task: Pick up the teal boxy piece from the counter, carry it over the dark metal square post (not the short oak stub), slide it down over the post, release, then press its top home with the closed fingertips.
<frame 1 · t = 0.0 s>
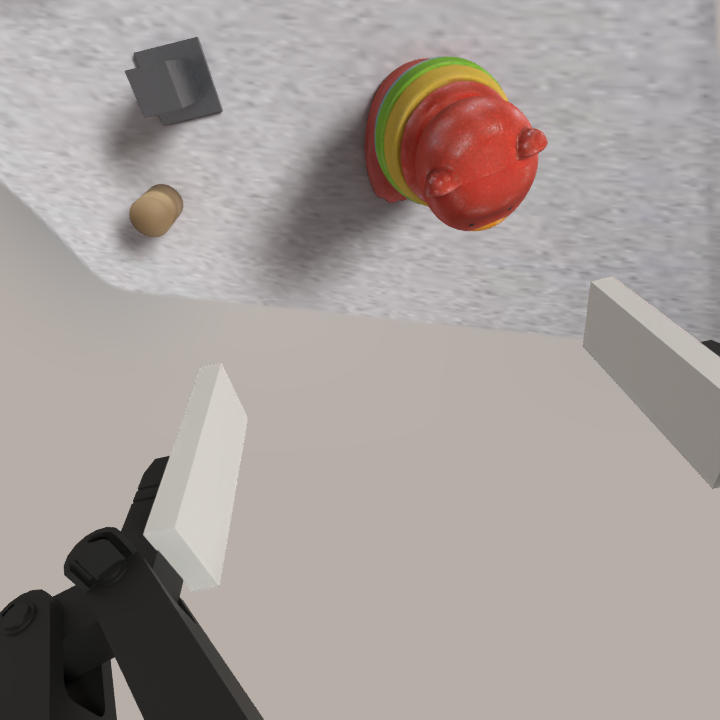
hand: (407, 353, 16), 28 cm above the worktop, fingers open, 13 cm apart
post: (180, 82, 34), on the worktop
oak stub: (165, 202, 39), on the worktop
stacking bear: (421, 127, 37), on the worktop
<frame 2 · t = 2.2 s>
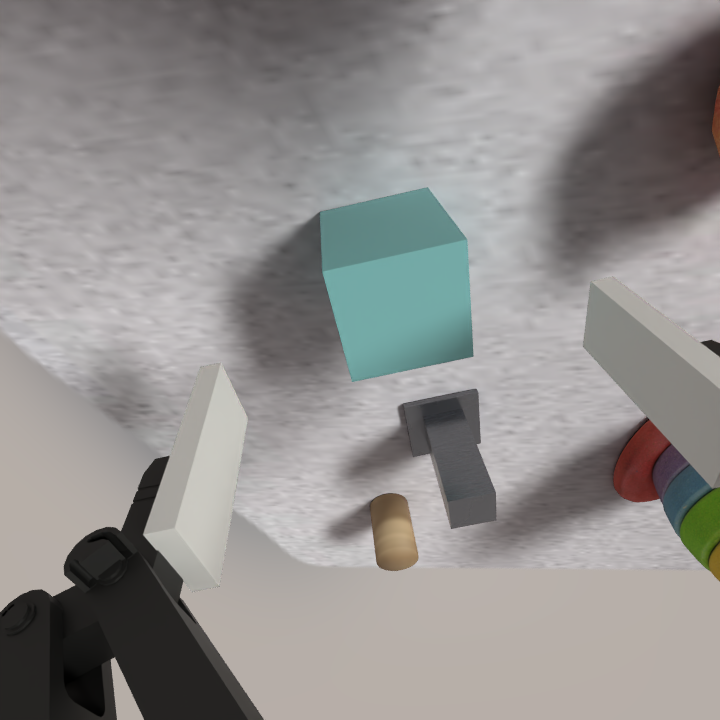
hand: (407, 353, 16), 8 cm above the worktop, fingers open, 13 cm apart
teal boxy piece: (382, 250, 22), on the worktop
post: (442, 422, 30), on the worktop
oak stub: (388, 505, 35), on the worktop
stacking bear: (683, 436, 34), on the worktop
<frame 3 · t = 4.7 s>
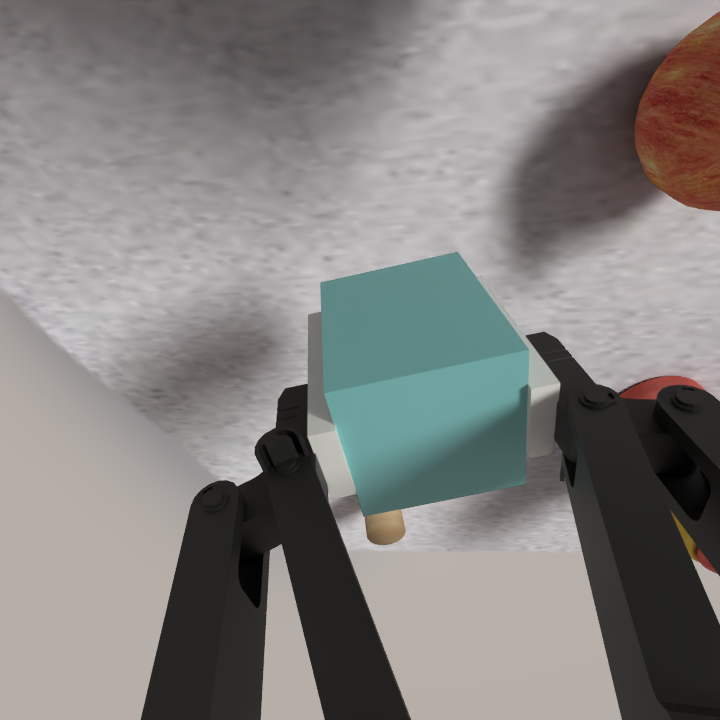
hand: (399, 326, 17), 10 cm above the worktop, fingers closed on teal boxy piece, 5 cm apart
teal boxy piece: (398, 326, 18), point 10 cm above the worktop, touching gripper
oak stub: (378, 487, 38), on the worktop
stacking bear: (644, 419, 37), on the worktop
fruit: (681, 99, 24), on the worktop
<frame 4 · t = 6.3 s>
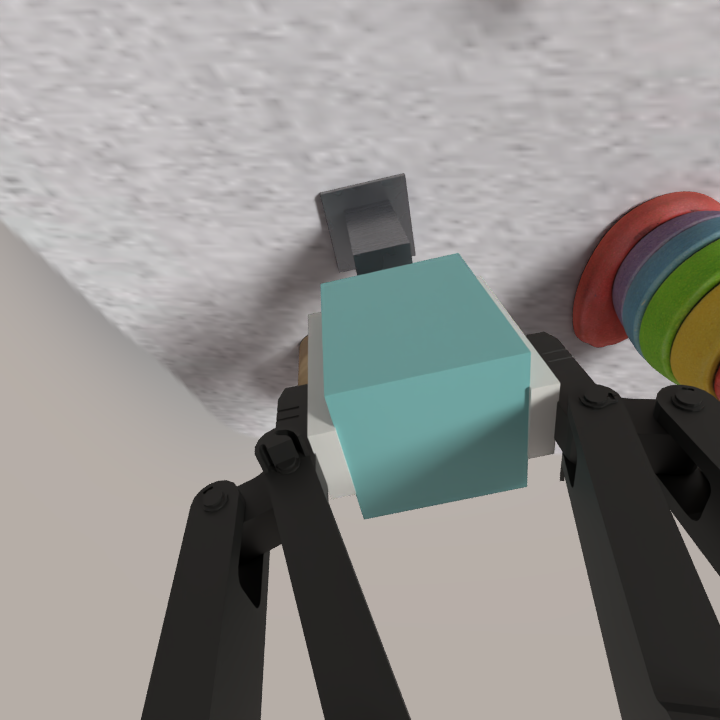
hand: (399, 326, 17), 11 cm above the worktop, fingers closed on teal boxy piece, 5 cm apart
teal boxy piece: (399, 327, 18), point 11 cm above the worktop, touching gripper
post: (369, 224, 26), on the worktop
oak stub: (320, 349, 31), on the worktop
stacking bear: (649, 263, 30), on the worktop
when the fingers open (2 cm above the worktop, at t = 8.2 s): teal boxy piece stays where it is, resting on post.
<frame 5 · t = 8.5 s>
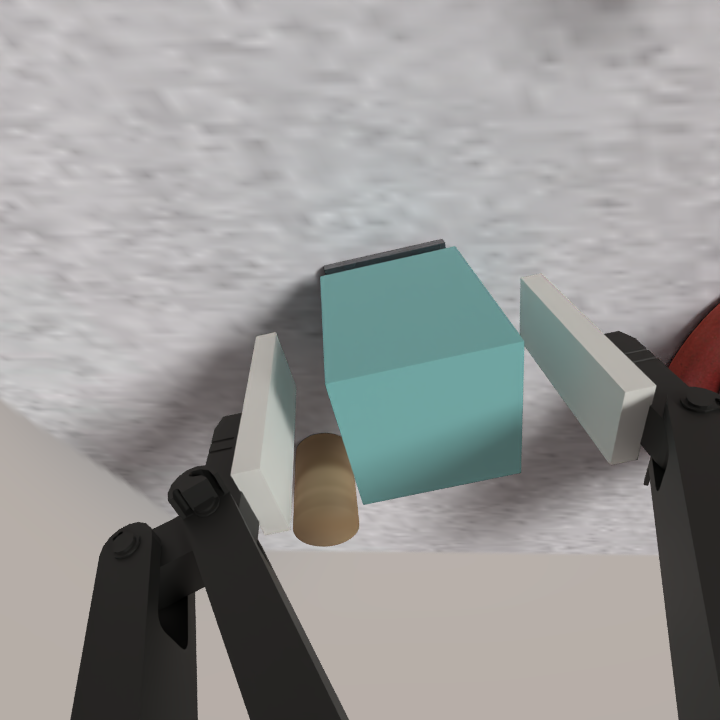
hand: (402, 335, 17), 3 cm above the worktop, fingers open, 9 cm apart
teal boxy piece: (397, 319, 18), point 1 cm above the worktop, touching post
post: (392, 304, 19), on the worktop
oak stub: (323, 453, 24), on the worktop
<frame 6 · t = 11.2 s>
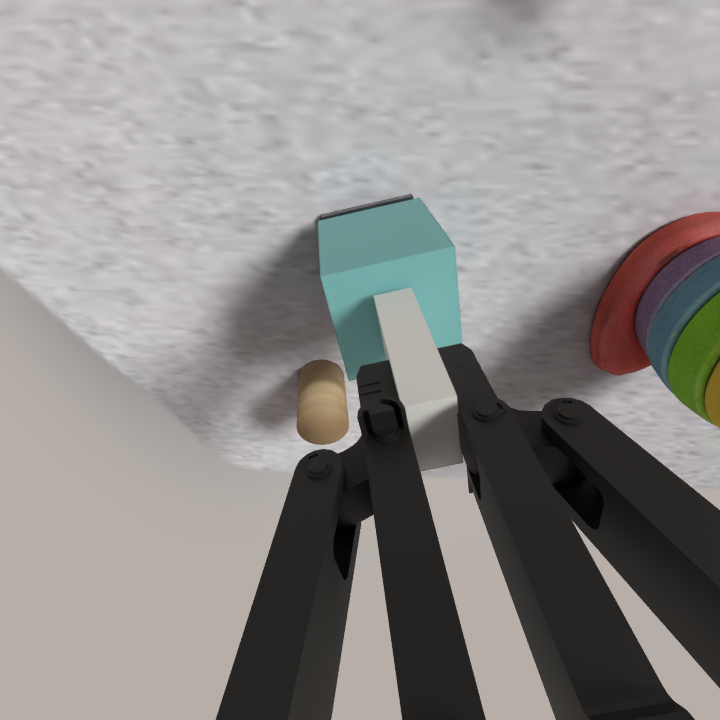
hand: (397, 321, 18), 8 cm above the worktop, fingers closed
teal boxy piece: (377, 257, 24), point 1 cm above the worktop, touching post
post: (374, 247, 24), on the worktop
oak stub: (321, 378, 29), on the worktop
stacking bear: (672, 287, 28), on the worktop
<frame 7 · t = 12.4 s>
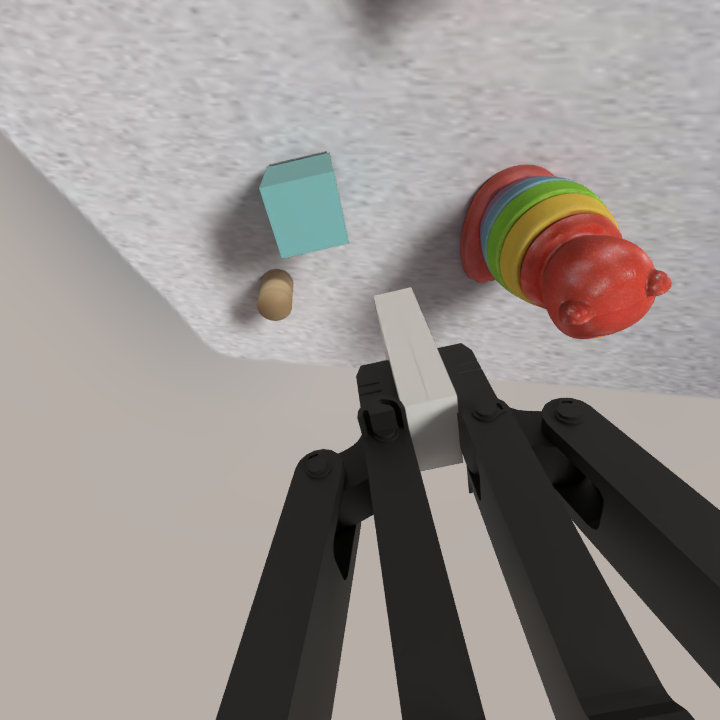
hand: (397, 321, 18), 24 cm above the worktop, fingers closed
teal boxy piece: (306, 192, 37), point 1 cm above the worktop, touching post
oak stub: (277, 283, 43), on the worktop
stacking bear: (513, 219, 41), on the worktop
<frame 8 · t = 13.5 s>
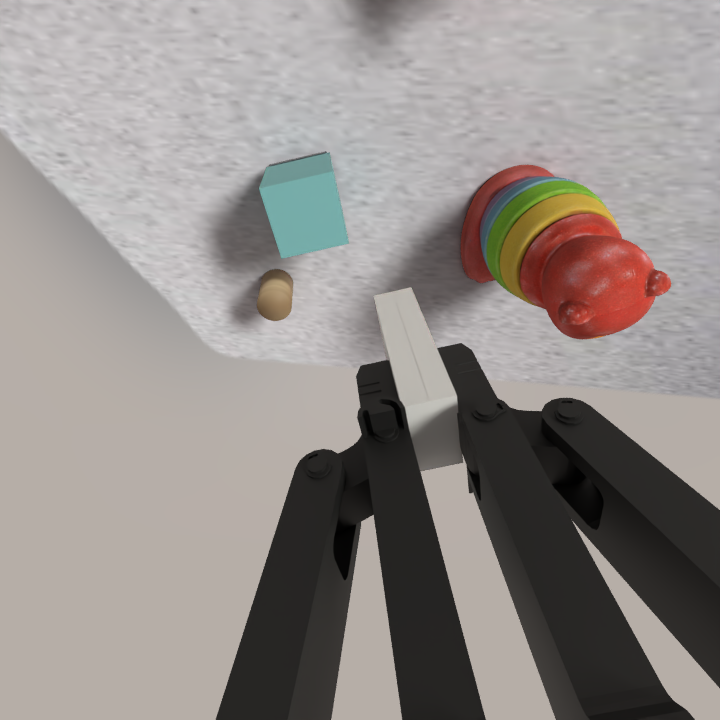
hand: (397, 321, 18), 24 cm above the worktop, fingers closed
teal boxy piece: (306, 192, 37), point 1 cm above the worktop, touching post
oak stub: (277, 283, 43), on the worktop
stacking bear: (512, 219, 41), on the worktop
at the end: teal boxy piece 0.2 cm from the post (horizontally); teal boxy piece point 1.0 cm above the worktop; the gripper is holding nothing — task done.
